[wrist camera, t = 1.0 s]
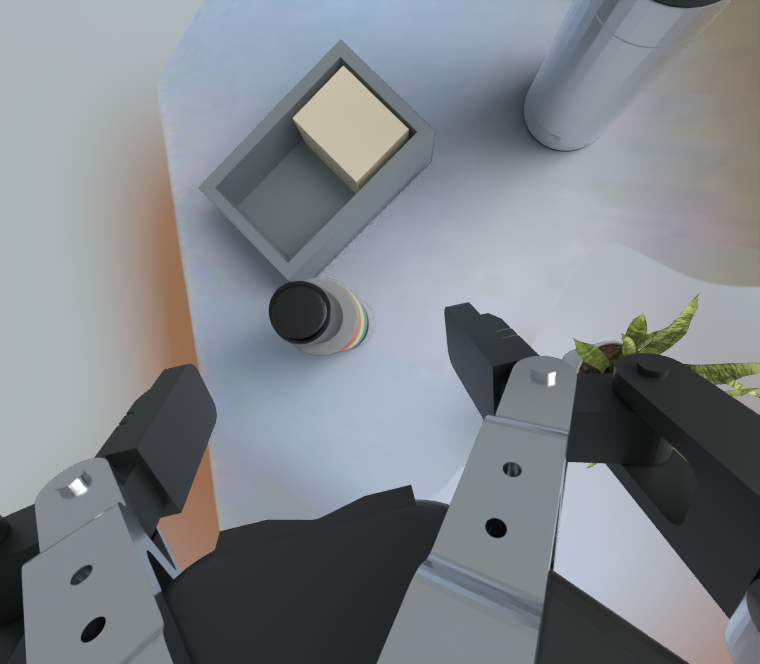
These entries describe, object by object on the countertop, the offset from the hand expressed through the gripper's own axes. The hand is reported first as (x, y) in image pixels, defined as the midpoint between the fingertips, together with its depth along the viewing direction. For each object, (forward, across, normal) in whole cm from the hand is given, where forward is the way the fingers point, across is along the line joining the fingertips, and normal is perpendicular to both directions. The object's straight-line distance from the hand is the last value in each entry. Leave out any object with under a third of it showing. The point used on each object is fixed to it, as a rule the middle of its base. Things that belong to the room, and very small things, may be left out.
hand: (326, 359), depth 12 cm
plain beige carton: (+35, -5, -5) cm, 35 cm away
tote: (+35, -1, -2) cm, 35 cm away
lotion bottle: (+27, 0, +12) cm, 30 cm away
